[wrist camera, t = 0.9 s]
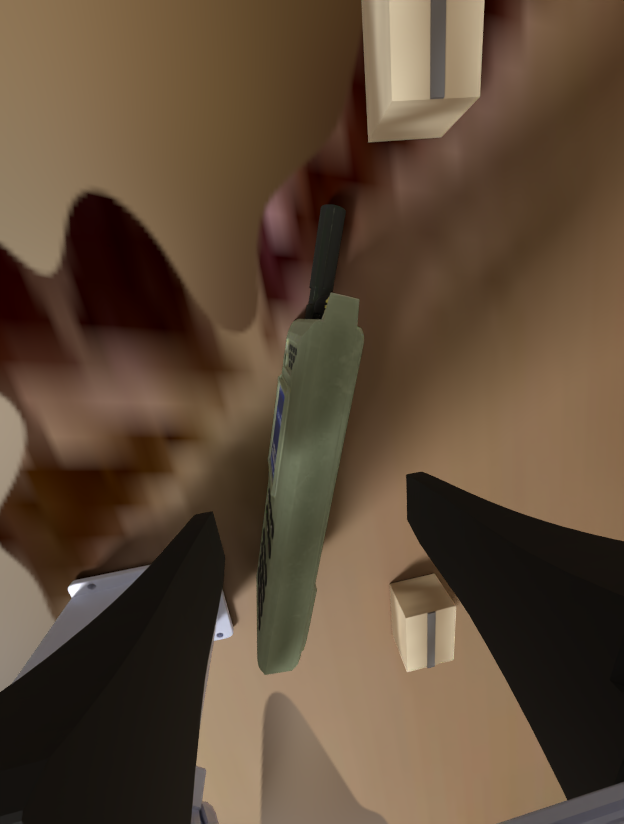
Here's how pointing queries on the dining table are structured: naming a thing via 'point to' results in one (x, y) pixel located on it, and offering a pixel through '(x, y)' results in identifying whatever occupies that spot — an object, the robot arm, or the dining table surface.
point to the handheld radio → (305, 453)
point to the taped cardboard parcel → (404, 120)
